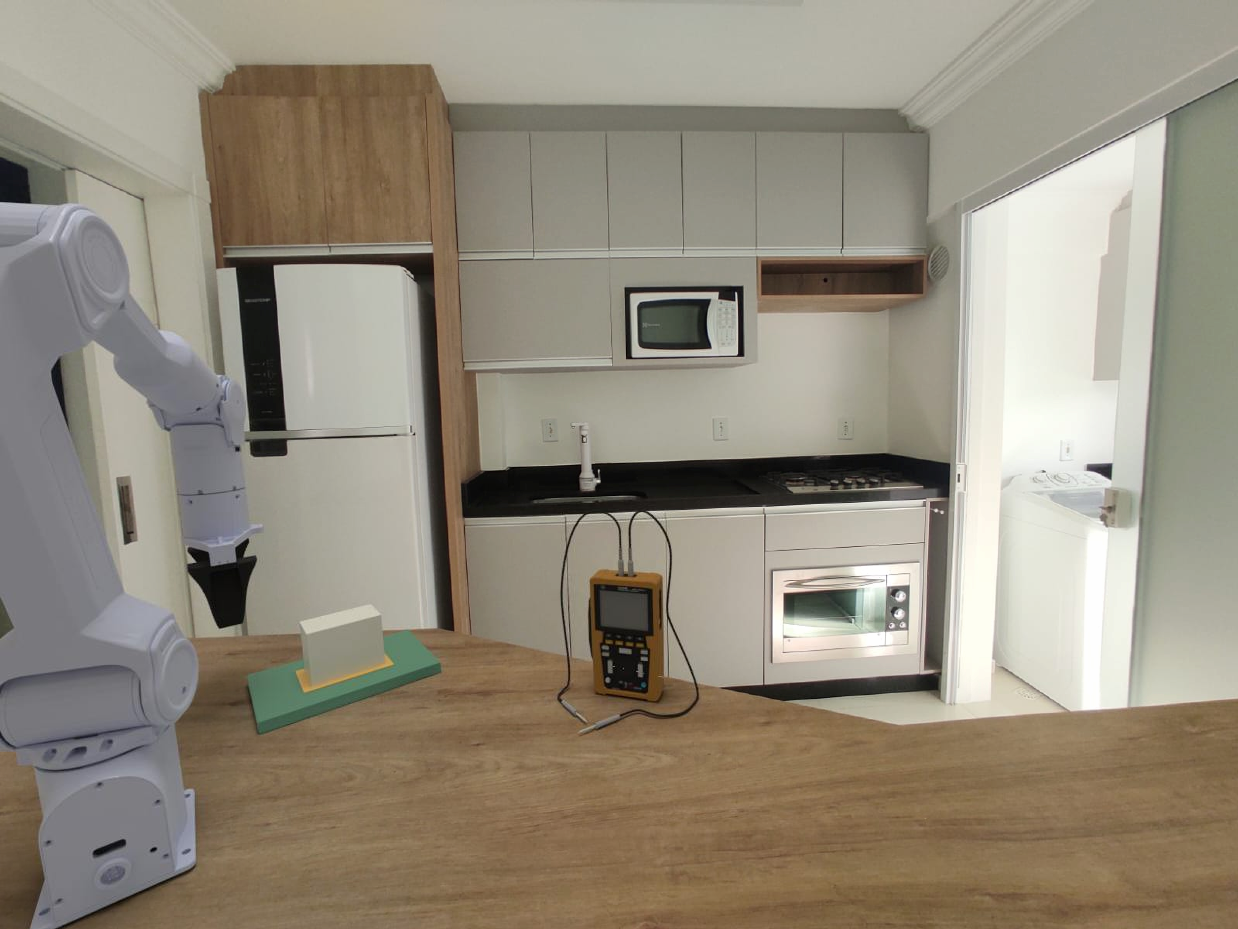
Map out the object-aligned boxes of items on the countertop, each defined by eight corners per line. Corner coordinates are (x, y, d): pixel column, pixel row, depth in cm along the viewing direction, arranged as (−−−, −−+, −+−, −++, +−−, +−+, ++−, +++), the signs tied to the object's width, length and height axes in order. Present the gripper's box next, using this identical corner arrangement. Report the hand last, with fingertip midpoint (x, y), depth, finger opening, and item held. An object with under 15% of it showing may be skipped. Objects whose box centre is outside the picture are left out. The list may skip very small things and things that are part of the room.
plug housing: (385, 663, 63) (381, 614, 63) (312, 687, 59) (306, 634, 58) (375, 650, 67) (370, 604, 66) (304, 671, 62) (299, 621, 61)
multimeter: (532, 729, 52) (521, 527, 50) (571, 677, 62) (564, 505, 59) (682, 755, 48) (679, 535, 45) (700, 694, 57) (698, 510, 55)
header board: (441, 671, 64) (438, 642, 63) (259, 734, 53) (254, 699, 52) (408, 638, 73) (406, 611, 73) (248, 685, 62) (244, 654, 62)
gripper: (265, 493, 54) (280, 624, 55) (252, 478, 65) (264, 587, 67) (174, 504, 49) (193, 645, 51) (176, 486, 61) (192, 602, 62)
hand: (228, 614), depth 59 cm, fingers open, 7 cm apart
